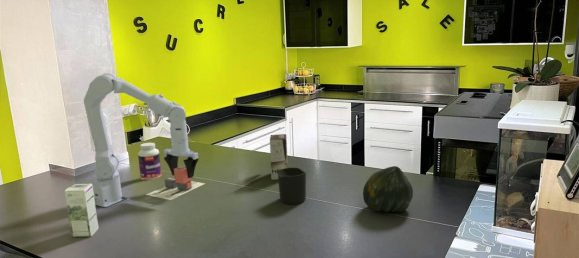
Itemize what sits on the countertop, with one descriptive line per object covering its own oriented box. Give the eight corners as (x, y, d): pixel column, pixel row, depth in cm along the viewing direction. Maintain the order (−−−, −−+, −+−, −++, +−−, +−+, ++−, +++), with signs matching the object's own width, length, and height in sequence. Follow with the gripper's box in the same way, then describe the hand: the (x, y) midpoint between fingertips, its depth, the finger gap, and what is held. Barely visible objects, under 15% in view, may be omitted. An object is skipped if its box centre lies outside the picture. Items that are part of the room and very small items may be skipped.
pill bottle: (146, 183, 168) (142, 148, 164) (137, 179, 173) (133, 144, 170) (165, 178, 173) (162, 143, 170) (155, 174, 179) (151, 140, 176)
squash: (351, 186, 141) (368, 161, 130) (390, 181, 147) (410, 156, 135) (367, 225, 134) (387, 202, 122) (407, 218, 139) (430, 196, 127)
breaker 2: (187, 191, 154) (186, 183, 153) (177, 189, 156) (176, 181, 155) (192, 188, 156) (192, 180, 156) (183, 186, 159) (182, 178, 158)
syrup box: (99, 228, 129) (92, 182, 126) (91, 237, 123) (84, 189, 120) (80, 229, 129) (73, 183, 126) (71, 238, 123) (63, 190, 120)
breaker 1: (173, 188, 157) (172, 180, 156) (165, 187, 159) (164, 179, 158) (179, 186, 160) (178, 178, 159) (171, 184, 162) (170, 176, 161)
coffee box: (287, 179, 167) (286, 139, 163) (271, 180, 167) (269, 139, 163) (288, 172, 176) (286, 133, 172) (272, 172, 176) (270, 134, 172)
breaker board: (170, 203, 147) (170, 199, 146) (146, 197, 153) (145, 194, 152) (205, 186, 162) (205, 183, 162) (181, 182, 168) (181, 179, 168)
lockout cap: (183, 183, 153) (181, 169, 152) (175, 182, 155) (173, 168, 154) (191, 179, 156) (189, 166, 155) (183, 178, 158) (181, 164, 157)
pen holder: (309, 195, 149) (308, 168, 147) (303, 206, 140) (302, 177, 138) (283, 194, 152) (282, 166, 149) (275, 204, 143) (274, 175, 141)
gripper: (202, 138, 152) (205, 175, 155) (172, 135, 159) (175, 170, 162) (189, 143, 146) (192, 181, 149) (158, 139, 153) (161, 175, 156)
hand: (182, 176), depth 155 cm, fingers open, 7 cm apart
